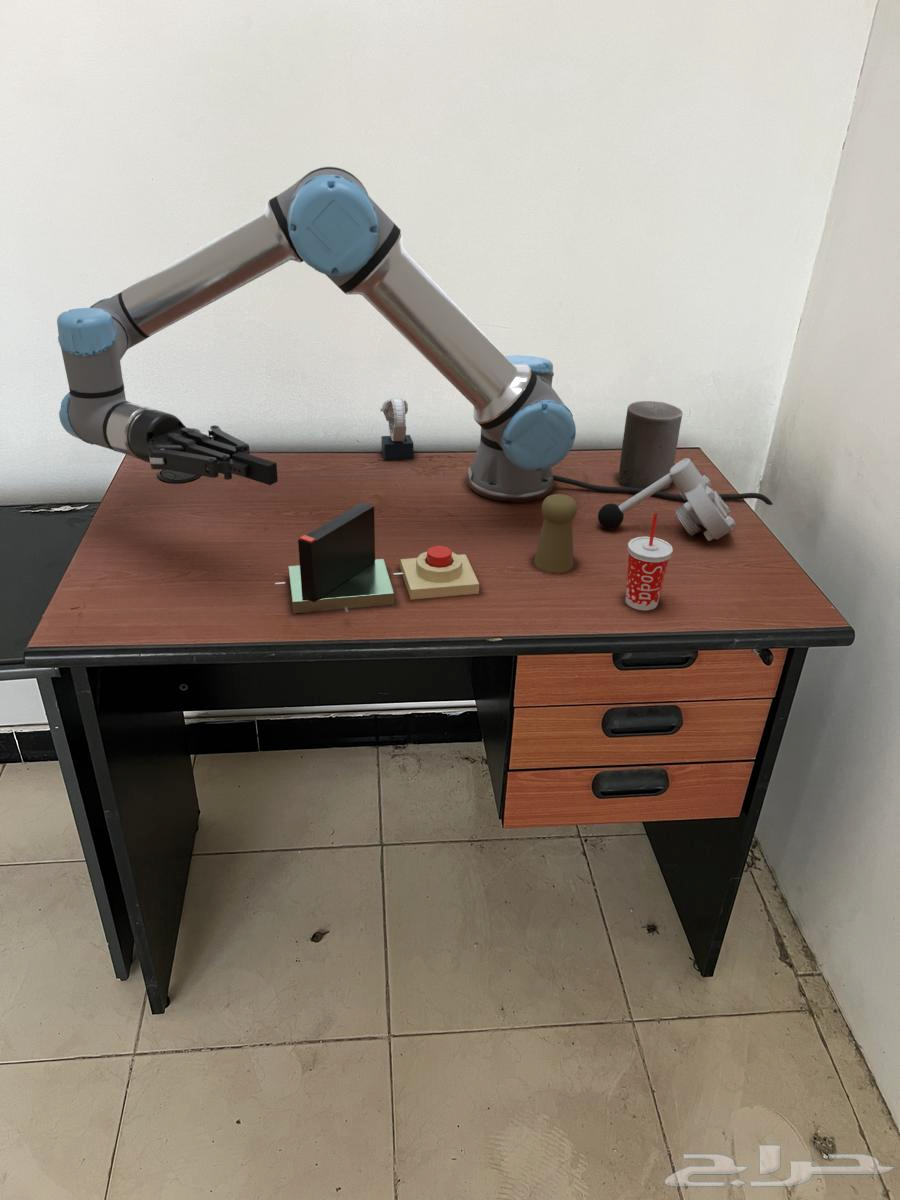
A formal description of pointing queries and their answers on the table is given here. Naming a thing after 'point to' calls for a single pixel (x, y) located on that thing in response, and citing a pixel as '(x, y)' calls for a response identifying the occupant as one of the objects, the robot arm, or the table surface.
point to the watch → (396, 431)
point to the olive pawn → (556, 534)
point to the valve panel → (347, 590)
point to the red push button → (439, 556)
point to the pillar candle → (649, 443)
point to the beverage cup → (646, 570)
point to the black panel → (336, 551)
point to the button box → (438, 577)
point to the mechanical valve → (696, 511)
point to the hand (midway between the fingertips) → (273, 474)
